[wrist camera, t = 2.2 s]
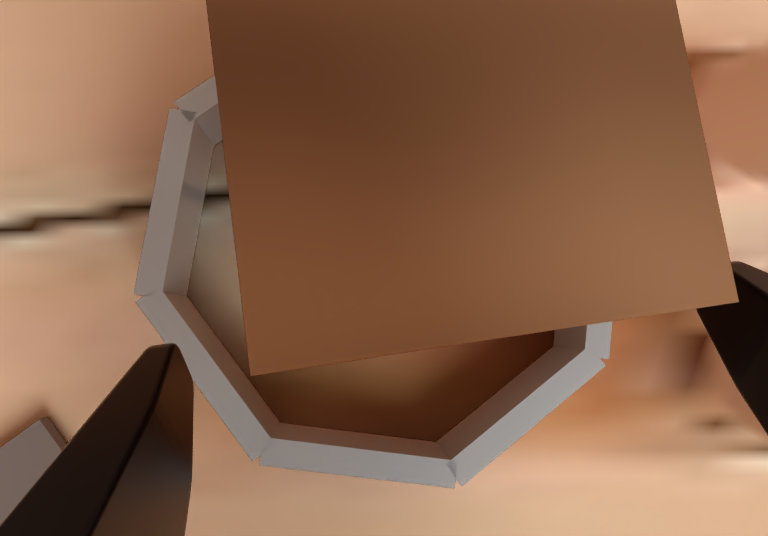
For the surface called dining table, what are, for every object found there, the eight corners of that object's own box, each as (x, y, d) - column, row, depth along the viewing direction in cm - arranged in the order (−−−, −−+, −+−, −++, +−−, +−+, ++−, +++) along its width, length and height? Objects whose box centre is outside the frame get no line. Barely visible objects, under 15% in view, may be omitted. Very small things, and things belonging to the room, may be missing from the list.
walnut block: (479, 318, 19) (738, 301, 7) (311, 342, 18) (249, 376, 6) (452, 156, 20) (645, -138, 7) (289, 175, 19) (193, -109, 7)
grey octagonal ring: (562, 481, 19) (596, 505, 16) (137, 430, 18) (104, 447, 15) (598, 87, 20) (634, 54, 18) (213, 21, 19) (194, -24, 17)
